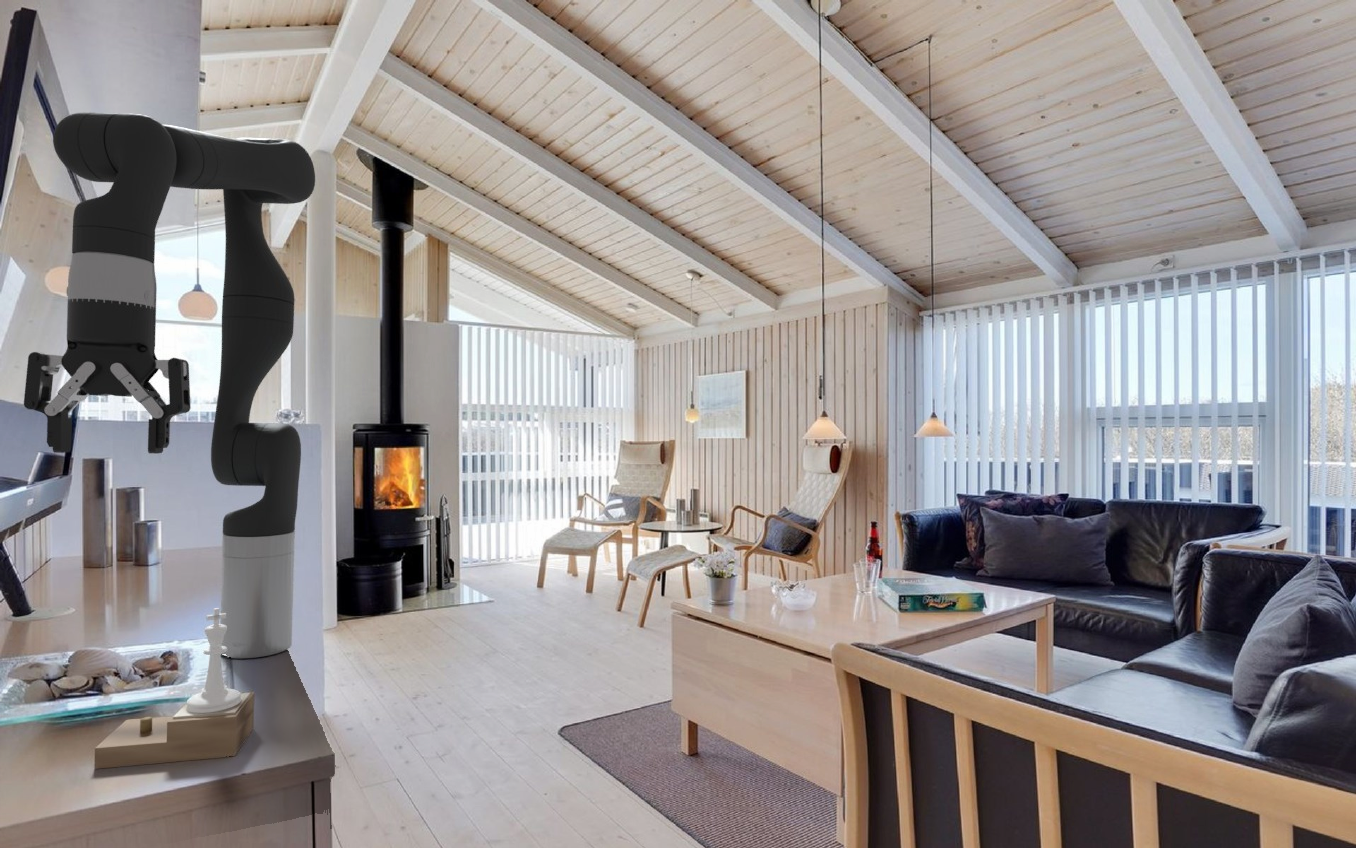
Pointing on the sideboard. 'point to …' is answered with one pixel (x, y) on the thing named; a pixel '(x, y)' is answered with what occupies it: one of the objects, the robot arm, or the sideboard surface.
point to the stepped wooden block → (178, 736)
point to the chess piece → (214, 674)
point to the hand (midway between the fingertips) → (109, 452)
